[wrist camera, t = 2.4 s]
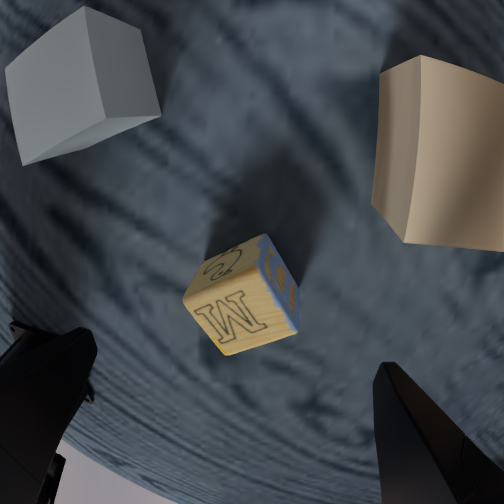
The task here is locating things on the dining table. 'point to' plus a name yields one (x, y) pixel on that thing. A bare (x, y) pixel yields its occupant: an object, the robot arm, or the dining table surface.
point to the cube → (79, 86)
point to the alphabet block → (245, 297)
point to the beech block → (441, 155)
